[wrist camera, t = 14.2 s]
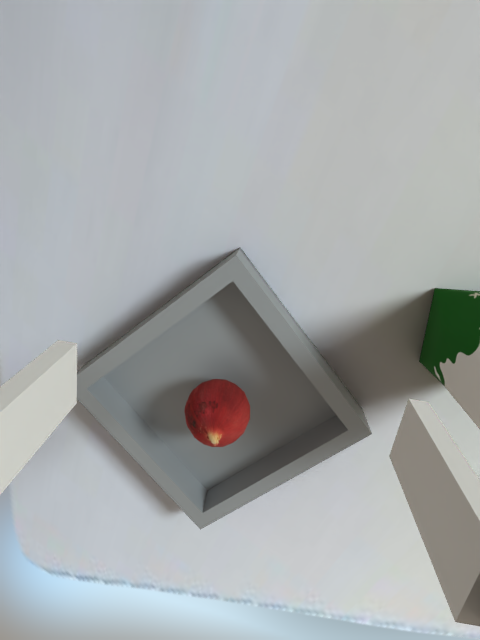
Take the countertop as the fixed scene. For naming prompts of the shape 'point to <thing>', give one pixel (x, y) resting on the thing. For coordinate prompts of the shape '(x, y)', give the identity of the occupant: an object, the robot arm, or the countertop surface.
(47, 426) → the robot arm
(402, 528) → the countertop surface
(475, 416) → the milk carton
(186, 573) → the countertop surface
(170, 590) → the countertop surface
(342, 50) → the countertop surface
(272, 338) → the tray
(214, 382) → the onion
